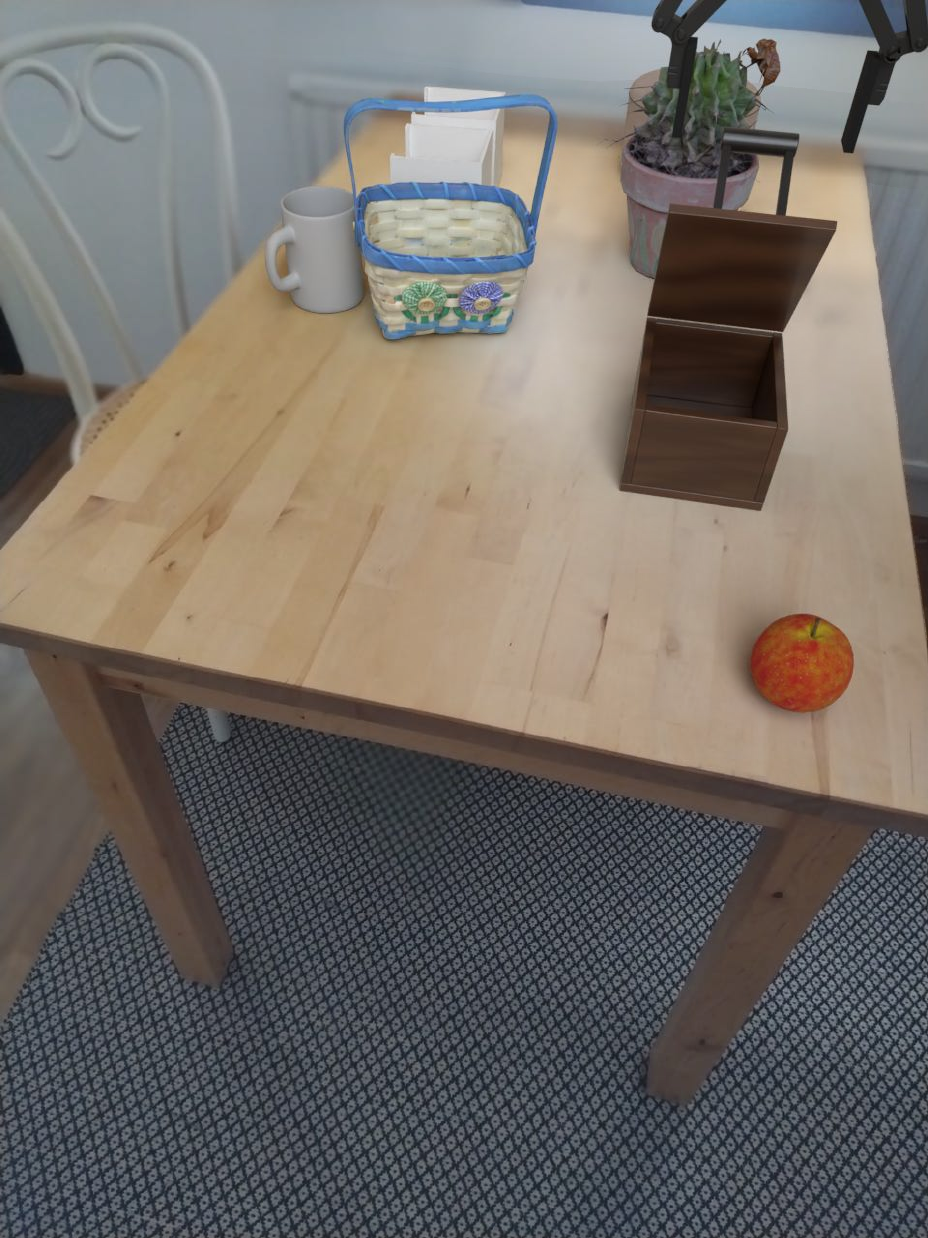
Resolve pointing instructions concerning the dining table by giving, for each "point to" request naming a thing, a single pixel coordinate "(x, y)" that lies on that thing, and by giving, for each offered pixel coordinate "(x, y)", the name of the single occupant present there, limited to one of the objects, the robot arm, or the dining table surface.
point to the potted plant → (690, 146)
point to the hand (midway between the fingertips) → (760, 139)
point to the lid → (739, 250)
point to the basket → (446, 238)
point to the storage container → (452, 143)
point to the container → (649, 80)
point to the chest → (706, 414)
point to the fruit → (802, 663)
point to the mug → (318, 250)
